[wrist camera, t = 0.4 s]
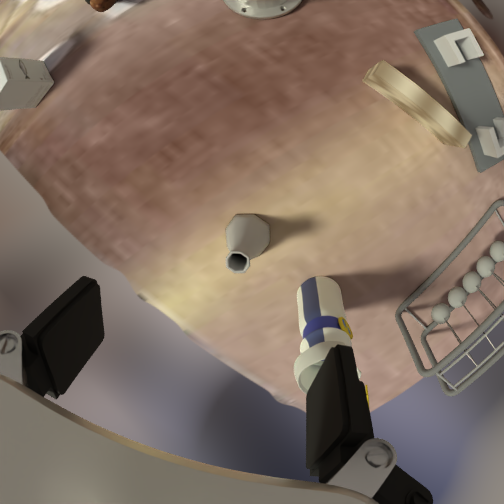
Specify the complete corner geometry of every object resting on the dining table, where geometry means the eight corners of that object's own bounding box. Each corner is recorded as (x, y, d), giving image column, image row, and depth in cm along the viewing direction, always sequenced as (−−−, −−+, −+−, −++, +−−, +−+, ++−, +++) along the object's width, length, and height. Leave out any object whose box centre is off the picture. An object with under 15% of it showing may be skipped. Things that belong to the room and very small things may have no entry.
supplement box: (55, 82, 39) (7, 81, 27) (35, 108, 41) (-12, 113, 29) (44, 59, 37) (-2, 55, 25) (24, 85, 39) (-20, 87, 27)
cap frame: (413, 31, 30) (426, 23, 25) (454, 19, 27) (468, 12, 22) (477, 171, 37) (494, 177, 32) (511, 151, 34) (528, 155, 29)
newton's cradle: (419, 337, 51) (448, 402, 35) (391, 311, 49) (420, 381, 33) (517, 232, 39) (572, 272, 23) (497, 195, 38) (561, 229, 22)
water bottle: (326, 263, 47) (351, 381, 24) (351, 300, 49) (382, 418, 26) (285, 288, 50) (277, 411, 27) (311, 322, 52) (317, 442, 29)
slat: (361, 81, 35) (374, 73, 29) (369, 69, 34) (382, 59, 28) (442, 143, 37) (465, 148, 30) (449, 132, 36) (472, 135, 29)
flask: (263, 261, 48) (257, 294, 39) (220, 248, 48) (204, 277, 39) (276, 220, 45) (273, 245, 36) (231, 206, 45) (216, 228, 36)
